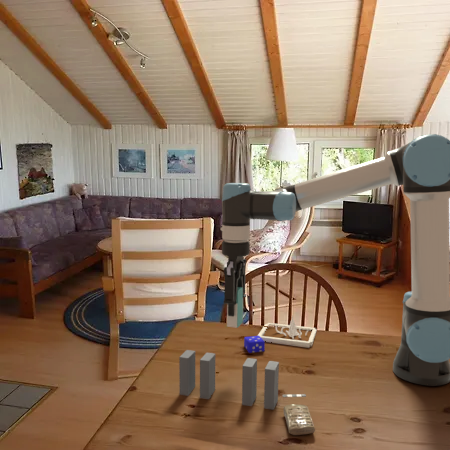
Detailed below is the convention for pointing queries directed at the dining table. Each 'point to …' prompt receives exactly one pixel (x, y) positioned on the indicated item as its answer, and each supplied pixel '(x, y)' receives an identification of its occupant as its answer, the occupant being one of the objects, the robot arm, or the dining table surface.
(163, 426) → the dining table surface
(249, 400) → the domino
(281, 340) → the white flat rectangular frame
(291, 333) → the shell
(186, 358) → the domino
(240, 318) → the domino
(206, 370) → the domino
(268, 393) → the domino
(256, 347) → the die
